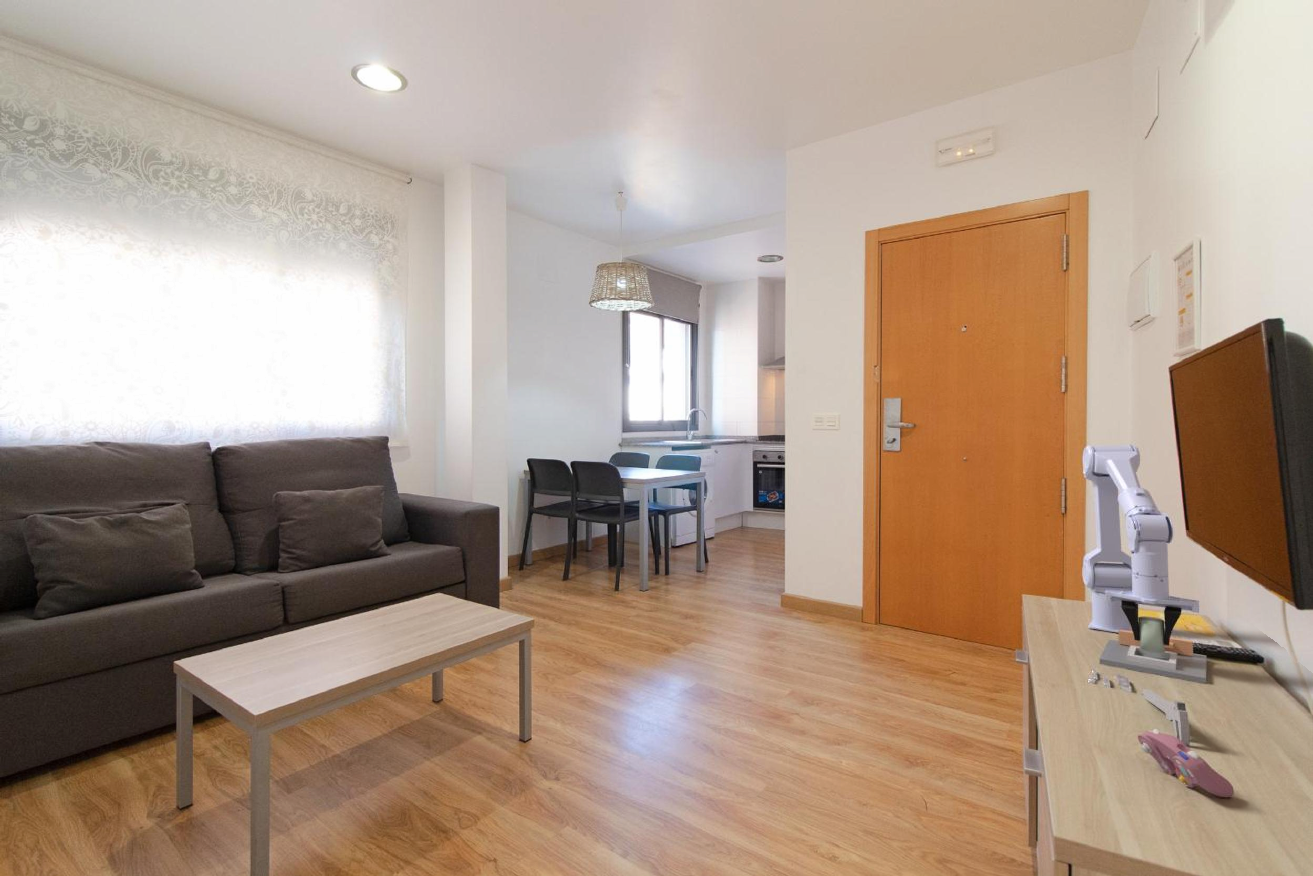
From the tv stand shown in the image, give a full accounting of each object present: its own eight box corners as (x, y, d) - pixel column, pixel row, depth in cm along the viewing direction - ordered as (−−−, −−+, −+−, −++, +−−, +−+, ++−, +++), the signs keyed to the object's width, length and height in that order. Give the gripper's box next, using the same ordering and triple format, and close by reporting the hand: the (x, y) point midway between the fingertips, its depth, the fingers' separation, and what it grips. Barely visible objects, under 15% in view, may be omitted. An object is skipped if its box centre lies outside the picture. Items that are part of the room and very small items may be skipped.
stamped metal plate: (1131, 695, 109) (1131, 687, 109) (1084, 688, 113) (1084, 680, 113) (1126, 680, 116) (1125, 672, 116) (1082, 673, 119) (1081, 666, 119)
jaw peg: (1139, 644, 124) (1138, 615, 124) (1165, 648, 121) (1164, 618, 121) (1138, 650, 121) (1138, 620, 121) (1164, 654, 118) (1164, 623, 118)
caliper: (1190, 748, 90) (1189, 706, 90) (1181, 747, 90) (1179, 705, 90) (1147, 695, 108) (1146, 660, 108) (1140, 694, 109) (1139, 659, 109)
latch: (1119, 642, 131) (1119, 629, 131) (1193, 654, 123) (1192, 640, 123) (1118, 645, 129) (1117, 632, 129) (1192, 657, 121) (1192, 644, 121)
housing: (1109, 644, 133) (1108, 634, 134) (1206, 660, 123) (1206, 649, 123) (1099, 663, 122) (1099, 653, 122) (1206, 683, 112) (1205, 672, 112)
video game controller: (1148, 771, 87) (1124, 728, 87) (1176, 756, 87) (1153, 713, 87) (1209, 814, 77) (1183, 765, 77) (1241, 797, 77) (1215, 748, 77)
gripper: (1102, 572, 123) (1104, 639, 123) (1197, 583, 113) (1200, 655, 113) (1107, 567, 128) (1108, 630, 128) (1198, 576, 118) (1200, 645, 118)
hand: (1151, 641), depth 121 cm, fingers closed on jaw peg, 4 cm apart
